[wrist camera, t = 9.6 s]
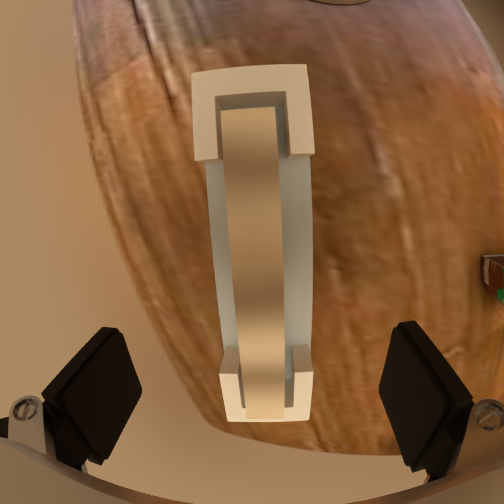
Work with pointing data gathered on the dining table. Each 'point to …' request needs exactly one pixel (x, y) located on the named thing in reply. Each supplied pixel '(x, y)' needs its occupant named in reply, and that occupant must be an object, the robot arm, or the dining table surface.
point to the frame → (292, 214)
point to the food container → (493, 275)
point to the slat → (256, 254)
